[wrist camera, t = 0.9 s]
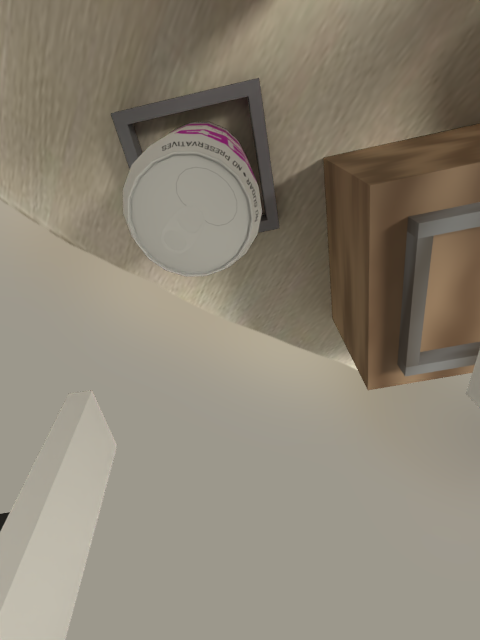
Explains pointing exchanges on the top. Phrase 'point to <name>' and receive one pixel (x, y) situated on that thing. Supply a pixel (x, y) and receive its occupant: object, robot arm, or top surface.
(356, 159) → the riser block
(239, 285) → the top surface
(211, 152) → the supplement can
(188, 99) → the base frame
